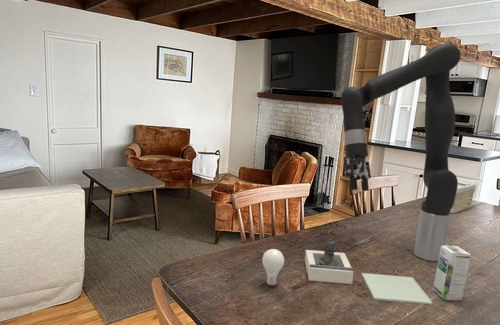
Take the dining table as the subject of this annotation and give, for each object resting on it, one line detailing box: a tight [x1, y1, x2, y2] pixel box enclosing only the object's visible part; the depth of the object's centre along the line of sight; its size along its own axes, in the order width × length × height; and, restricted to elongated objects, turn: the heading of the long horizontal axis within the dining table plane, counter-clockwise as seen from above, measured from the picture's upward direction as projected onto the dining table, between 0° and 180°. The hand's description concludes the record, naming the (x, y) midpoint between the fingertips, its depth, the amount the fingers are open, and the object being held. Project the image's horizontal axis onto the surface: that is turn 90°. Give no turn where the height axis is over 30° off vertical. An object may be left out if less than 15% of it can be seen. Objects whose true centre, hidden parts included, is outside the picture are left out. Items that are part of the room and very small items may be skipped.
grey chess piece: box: [319, 236, 337, 266], centre depth 111 cm, size 6×6×12 cm
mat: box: [361, 272, 433, 306], centre depth 104 cm, size 16×14×1 cm
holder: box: [304, 249, 354, 285], centre depth 111 cm, size 13×13×5 cm
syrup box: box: [432, 244, 472, 301], centre depth 101 cm, size 6×6×14 cm
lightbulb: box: [261, 248, 285, 286], centre depth 101 cm, size 6×6×11 cm
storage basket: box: [426, 179, 477, 214], centre depth 192 cm, size 24×16×15 cm
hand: (359, 190), depth 119 cm, fingers open, 8 cm apart
